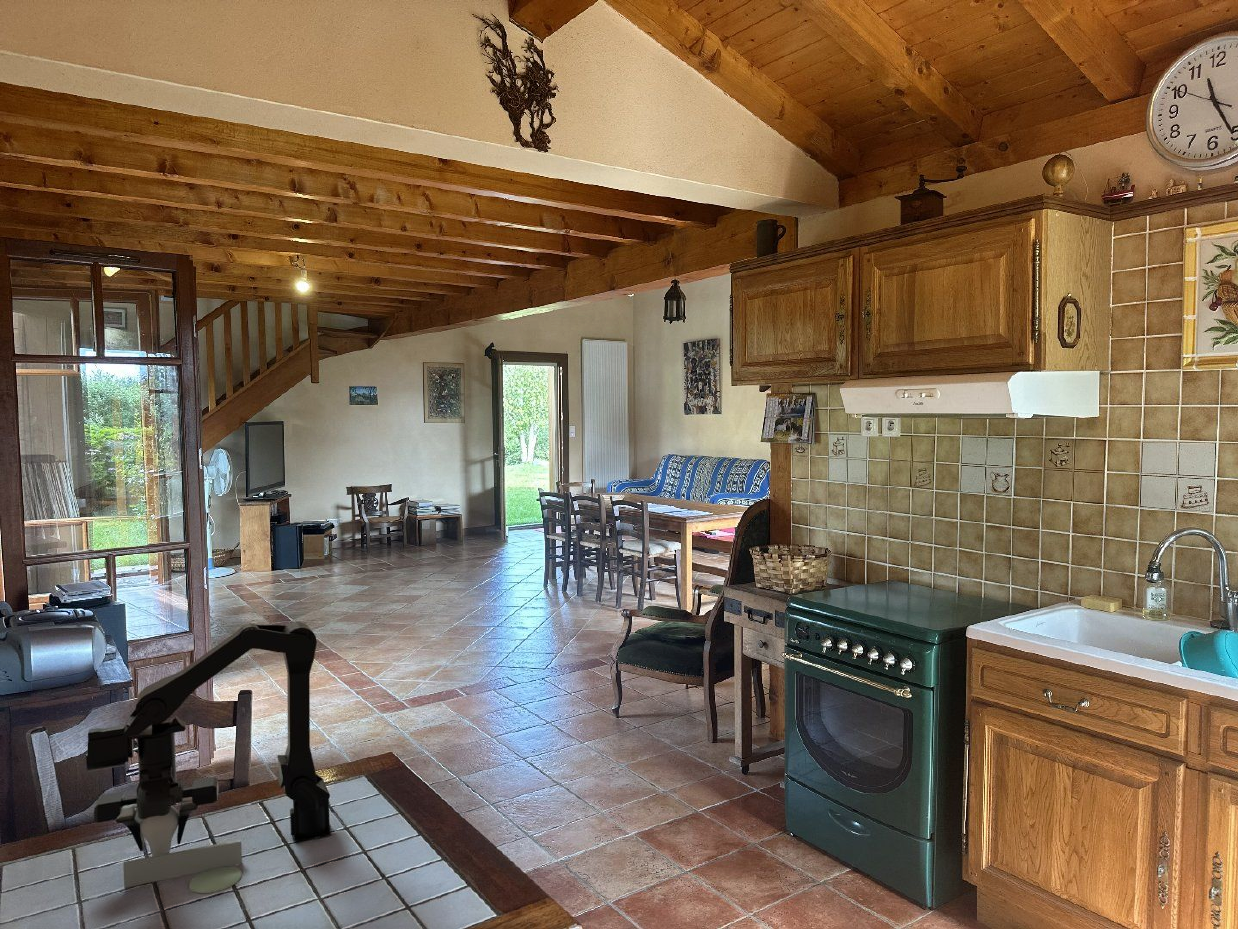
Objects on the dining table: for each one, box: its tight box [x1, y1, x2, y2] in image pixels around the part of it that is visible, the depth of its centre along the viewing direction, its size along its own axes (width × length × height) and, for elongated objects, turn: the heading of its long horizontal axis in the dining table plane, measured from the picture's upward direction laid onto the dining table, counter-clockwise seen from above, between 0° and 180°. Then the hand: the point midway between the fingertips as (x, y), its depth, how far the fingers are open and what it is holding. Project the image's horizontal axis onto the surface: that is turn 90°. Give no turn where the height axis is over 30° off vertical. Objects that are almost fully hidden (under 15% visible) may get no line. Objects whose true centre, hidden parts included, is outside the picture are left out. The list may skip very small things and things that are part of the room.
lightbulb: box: [140, 806, 179, 857], centre depth 147 cm, size 6×6×11 cm
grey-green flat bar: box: [122, 839, 243, 889], centre depth 145 cm, size 18×1×4 cm, turn 113°
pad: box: [188, 866, 242, 894], centre depth 142 cm, size 8×8×1 cm
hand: (160, 847), depth 147 cm, fingers closed on lightbulb, 5 cm apart
